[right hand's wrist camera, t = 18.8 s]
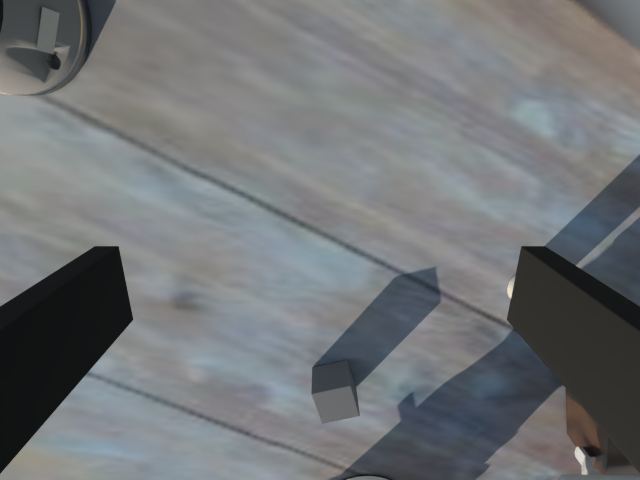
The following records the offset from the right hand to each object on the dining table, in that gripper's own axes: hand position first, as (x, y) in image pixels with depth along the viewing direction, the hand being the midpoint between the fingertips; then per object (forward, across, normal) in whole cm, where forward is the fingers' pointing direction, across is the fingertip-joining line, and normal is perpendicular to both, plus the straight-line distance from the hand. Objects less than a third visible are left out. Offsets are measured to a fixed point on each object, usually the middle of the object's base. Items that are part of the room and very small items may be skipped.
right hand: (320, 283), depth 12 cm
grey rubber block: (+31, +2, -30) cm, 43 cm away
